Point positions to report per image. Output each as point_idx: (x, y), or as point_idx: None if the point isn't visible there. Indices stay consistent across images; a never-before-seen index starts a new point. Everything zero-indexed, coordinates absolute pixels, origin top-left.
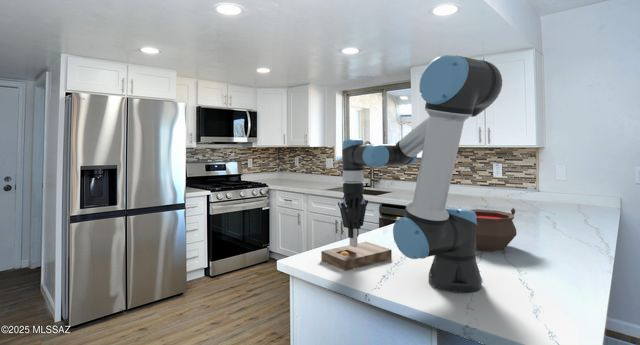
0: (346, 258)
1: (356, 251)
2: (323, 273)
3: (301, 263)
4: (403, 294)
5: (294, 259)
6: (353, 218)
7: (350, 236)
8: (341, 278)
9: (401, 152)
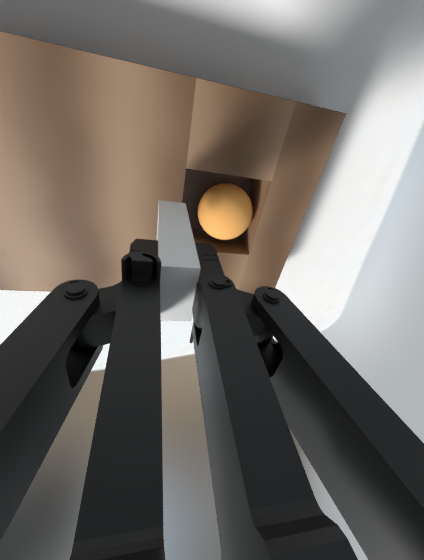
0: (303, 141)
1: (161, 194)
2: (380, 164)
3: (318, 290)
4: None
5: None
6: (228, 367)
7: (215, 252)
8: (417, 40)
9: None
